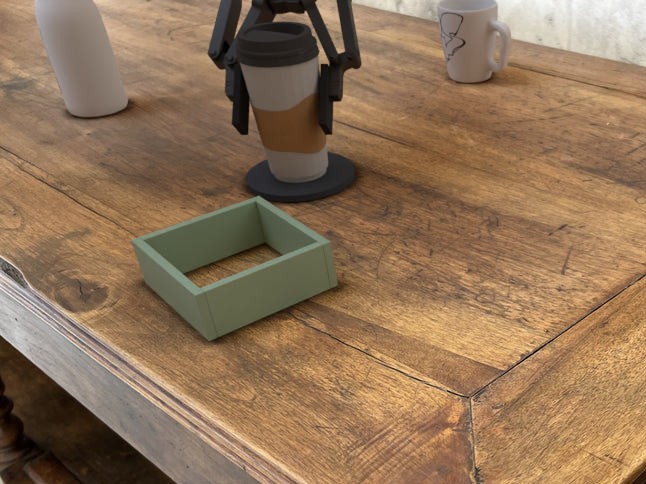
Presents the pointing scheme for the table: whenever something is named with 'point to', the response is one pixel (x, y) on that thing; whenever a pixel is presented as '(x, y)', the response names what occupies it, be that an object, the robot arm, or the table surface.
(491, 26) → the mug
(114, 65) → the milk bottle
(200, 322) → the frame
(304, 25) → the coffee cup
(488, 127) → the table surface
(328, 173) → the slate mat
